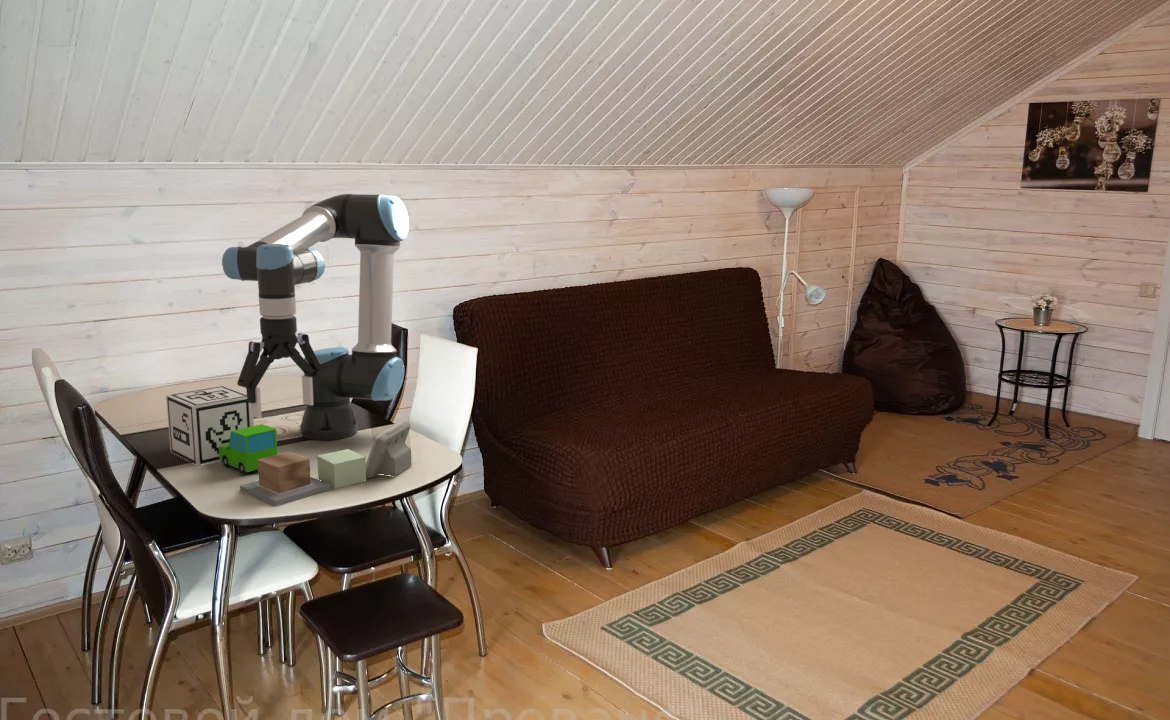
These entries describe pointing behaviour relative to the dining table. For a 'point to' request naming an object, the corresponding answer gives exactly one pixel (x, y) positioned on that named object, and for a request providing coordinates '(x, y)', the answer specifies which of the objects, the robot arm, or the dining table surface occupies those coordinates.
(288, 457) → the walnut block
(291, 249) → the robot arm
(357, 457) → the green block
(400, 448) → the digital clock
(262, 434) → the toy car
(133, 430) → the dining table surface
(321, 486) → the plate
